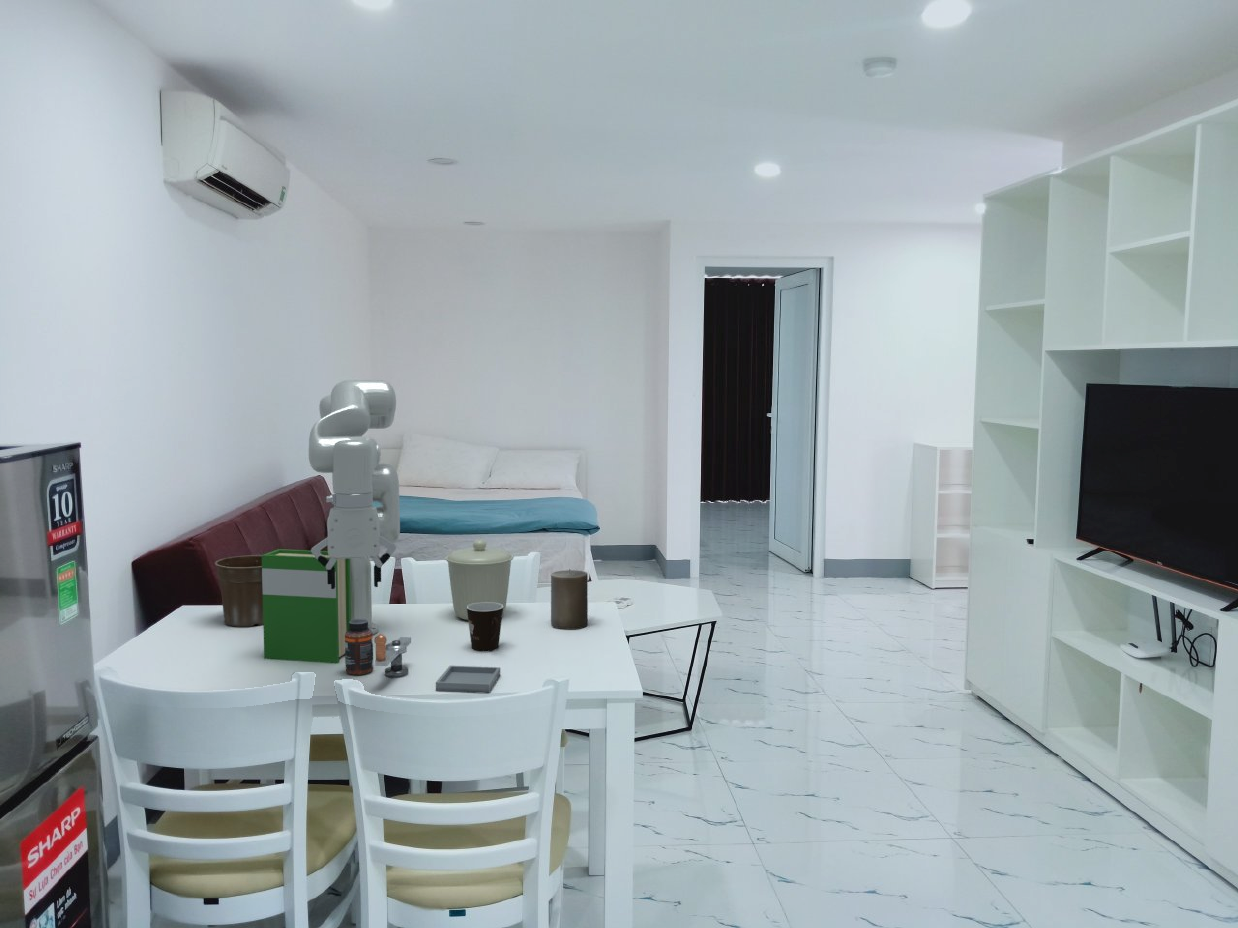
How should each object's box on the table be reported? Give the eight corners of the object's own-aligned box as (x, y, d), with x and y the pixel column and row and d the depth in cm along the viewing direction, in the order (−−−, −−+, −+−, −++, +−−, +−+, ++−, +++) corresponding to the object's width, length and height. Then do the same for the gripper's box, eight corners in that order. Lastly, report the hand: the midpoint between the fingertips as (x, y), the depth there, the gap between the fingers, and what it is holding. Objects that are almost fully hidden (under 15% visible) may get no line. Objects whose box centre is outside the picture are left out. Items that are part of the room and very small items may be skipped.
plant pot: (291, 613, 252) (290, 554, 250) (271, 629, 235) (269, 567, 234) (231, 613, 251) (229, 554, 249) (206, 629, 235) (204, 566, 233)
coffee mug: (468, 642, 227) (468, 602, 226) (503, 642, 227) (503, 601, 226) (464, 657, 215) (464, 614, 214) (501, 656, 216) (501, 614, 215)
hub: (381, 677, 200) (381, 656, 200) (389, 669, 205) (388, 649, 205) (404, 678, 200) (403, 657, 199) (411, 670, 205) (411, 650, 204)
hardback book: (351, 653, 217) (349, 552, 214) (337, 663, 209) (335, 558, 207) (280, 649, 219) (278, 549, 217) (264, 658, 212) (261, 555, 210)
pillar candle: (593, 627, 241) (594, 570, 240) (558, 631, 237) (559, 573, 236) (578, 618, 250) (579, 563, 249) (544, 622, 246) (545, 566, 245)
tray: (435, 690, 192) (435, 682, 192) (449, 673, 203) (449, 665, 203) (489, 692, 191) (489, 684, 191) (500, 675, 202) (500, 667, 202)
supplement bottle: (379, 669, 206) (378, 619, 205) (363, 677, 200) (362, 625, 199) (356, 665, 208) (355, 616, 207) (339, 673, 202) (338, 623, 201)
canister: (515, 608, 260) (516, 533, 258) (510, 625, 242) (510, 546, 240) (450, 608, 259) (450, 533, 257) (440, 625, 241) (440, 545, 239)
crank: (396, 641, 209) (396, 613, 209) (415, 642, 209) (415, 613, 208) (368, 667, 191) (368, 635, 191) (389, 668, 191) (389, 636, 190)
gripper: (306, 504, 182) (308, 593, 183) (398, 502, 186) (399, 588, 188) (308, 499, 189) (310, 584, 191) (396, 497, 193) (397, 580, 195)
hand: (354, 586), depth 189 cm, fingers open, 7 cm apart
